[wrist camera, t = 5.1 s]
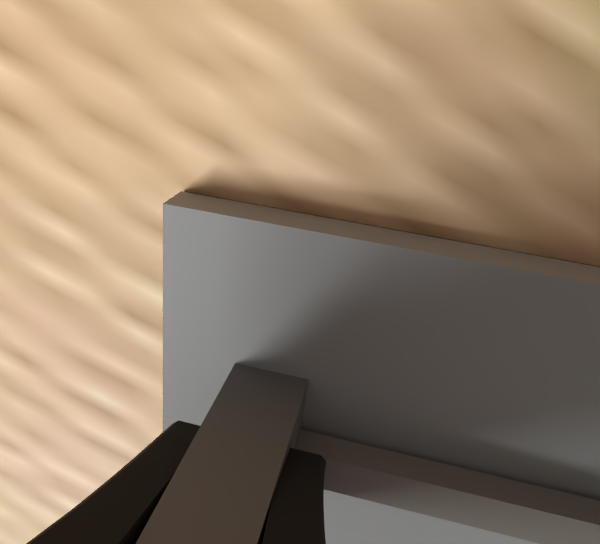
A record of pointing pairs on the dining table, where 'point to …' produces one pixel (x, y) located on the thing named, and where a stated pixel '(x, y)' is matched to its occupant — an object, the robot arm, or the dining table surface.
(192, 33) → the dining table surface
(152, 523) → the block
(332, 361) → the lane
